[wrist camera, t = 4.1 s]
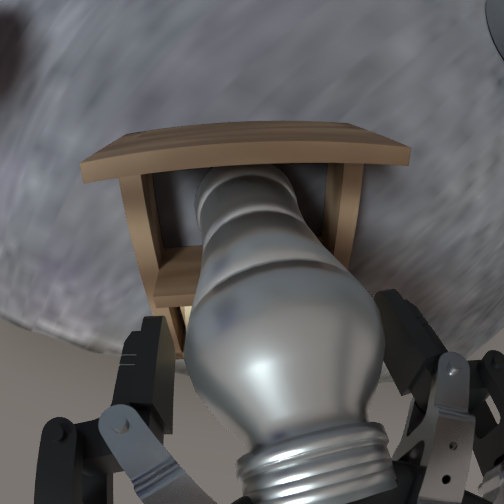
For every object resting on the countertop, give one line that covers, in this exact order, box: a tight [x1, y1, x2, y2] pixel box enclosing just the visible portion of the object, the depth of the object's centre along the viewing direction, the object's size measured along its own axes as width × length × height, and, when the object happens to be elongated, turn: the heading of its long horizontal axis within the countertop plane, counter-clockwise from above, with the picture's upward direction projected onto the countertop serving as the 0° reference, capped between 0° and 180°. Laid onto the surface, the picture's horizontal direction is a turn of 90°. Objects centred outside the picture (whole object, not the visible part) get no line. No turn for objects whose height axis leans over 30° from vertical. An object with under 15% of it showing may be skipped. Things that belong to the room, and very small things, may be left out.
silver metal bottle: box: [184, 164, 398, 504], centre depth 13 cm, size 6×7×20 cm
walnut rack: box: [80, 121, 411, 359], centre depth 20 cm, size 20×16×8 cm
